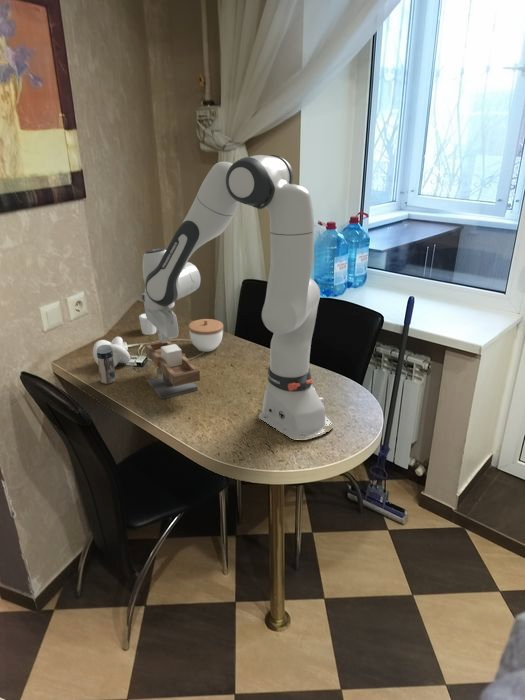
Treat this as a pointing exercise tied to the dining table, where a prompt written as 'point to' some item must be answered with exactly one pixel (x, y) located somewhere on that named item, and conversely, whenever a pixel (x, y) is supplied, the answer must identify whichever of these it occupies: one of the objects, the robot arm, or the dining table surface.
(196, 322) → the lidded bowl
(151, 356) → the brown wooden tray
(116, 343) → the white knot sculpture
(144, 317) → the shot glass
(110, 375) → the beer can
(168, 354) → the white block
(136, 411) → the dining table surface
